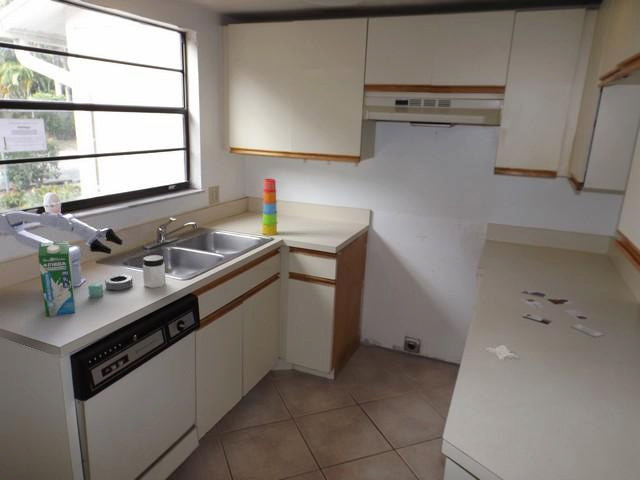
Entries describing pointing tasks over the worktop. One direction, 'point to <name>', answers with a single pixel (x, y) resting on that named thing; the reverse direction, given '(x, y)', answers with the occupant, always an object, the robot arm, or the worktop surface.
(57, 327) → the worktop surface
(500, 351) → the acanthus leaf ornament
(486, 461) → the worktop surface
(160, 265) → the jar
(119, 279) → the barrel ring
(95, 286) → the mint green cube
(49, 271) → the milk carton
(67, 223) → the robot arm
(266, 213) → the stacking cups
